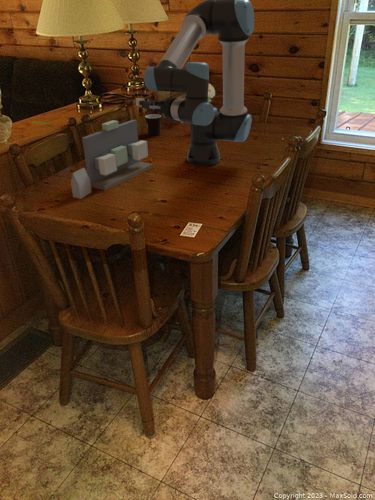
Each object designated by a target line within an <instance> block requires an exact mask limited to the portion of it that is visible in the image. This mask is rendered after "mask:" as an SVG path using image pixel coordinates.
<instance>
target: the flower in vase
mask: <svg viewBox="0 0 375 500" xmlns="http://www.w3.org/2000/svg"><path fill="white" fill-rule="evenodd" d="M215 96H216V90H215V87H214V86H213V85H212V84H211V83H210V82H209V86H208V103H211V102H212V99H214V97H215Z"/></svg>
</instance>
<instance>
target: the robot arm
mask: <svg viewBox="0 0 375 500" xmlns="http://www.w3.org/2000/svg"><path fill="white" fill-rule="evenodd" d="M255 22H256V21H255V12H254V7H253V4H252V2H251V1H250V0H203V1H201V2H199V3H198V4H197V5H194V7H193V8H192V9H190V10H189V12H187V14H186V15H185V16H184V18H183V19H182V21H181V27H180V29H179V30H178V32H177V34H176V35H175V37H174V38H173V40H172V42H171V44H170V45H169V47H168V48H167V49H166V51H165V52H164V54H163V57H162V58H161V59H160V61H159V63H158V64H157V66H155V65H153V66H147V68H146V69H145V70H144V72H143V73H144V75H143V80H144V81H143V82H144V85H145V87H146V88H147V90H150V91H157V92H172V93H173V92H174V93H175V92H176V93H185V94H184V95H185V97H184V98H181V97H180V98H179V97H174V96H172V97H171V96H169V97H168V98H167V99H166V100H165V101H163V100H152V99H151V100H150V99H148V98H146V97H145V98H139V97H138V98H137V97H136V98H135V106H137V107H140V108H142V109H145V110H149V111H150V112H153V111H155V112H159V113H161V114H163V115H164V117H165V118H167V119H169V120H173V121H179V122H180V123H181V124H184V123H188V124H190V125H189V127H190V144H189V147H188V151H187V154H186V155H187V156H186V161H187V163H189V164H191V165H194V166H204V167H205V166H206V167H207V166H212V165H216V164H218V163H219V162H221V154H220V151H219V148H218V144H217V141H218V140H219V141H226V142H233V143H243V142H245V141H246V140H247V138H248V136H249V134H250V131H251V127H252V121H253V118H252V114H250V113H248V108H247V107H246V106H245V105H244V104H245V102H244V101H245V95H244V94H245V55H246V54H245V51H246V50H245V49H246V46H245V45H246V43H247V42H248V41H249V39H250V36H251V35H252V34H253V33H254V30H255ZM206 35H218V36H217V37H218V42H219V43H221V46H222V106H221V107H220V109H219V111H218V108H217V107H214V106H213V104H211V102H209V103H208V98H209V97H208V86H209V83H210V82H209V81H210V73H209V71H210V68H209V67H210V66H209V64H208V63H207V62H203V61H201V62H200V61H188V58H190V55H191V54H192V52H193V50H194V49H195V47H196V45H197V44H198V42H199V41H201V40H202V39H203V38H205V36H206ZM187 61H188V62H187ZM184 65H185V67H184Z"/></svg>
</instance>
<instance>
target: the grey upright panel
mask: <svg viewBox="0 0 375 500" xmlns="http://www.w3.org/2000/svg"><path fill="white" fill-rule="evenodd" d="M101 128H102V130H99V131H96V132H95V133H91V134H88V135H86V136H83V137H81V140H82V147H83V154H84V160H85V166H86V168H85V169H86V173H87V174H88V176H89V178H90V185H91V188H95V189H99V190H101V191H107V190H110V189H112V188H113V187H116V186H118V185H120V184H121V183H124V182H126V181H128V180H131V179H132V178H134V177H136V176H138V175H140V174H142V173H144V172H146V171H149V170H150V169H152V168H153V164H152V163H148V162H143V161H141V160H134V159H133V155H129V154H128V151H127V156H128V162H126V163H124V164H122V165H120V166H117V171H114V172H112V173H110V174H108V175H102V174H100V170H99V169H95V166H94V159H93V158H94V157H97V156H99V155H101V156H105V155H107V154H111V149H114V148H116V147H119V146H126V147H127V144H129V143H131V142H135V143H136V142H139V132H138V122H137V119H131V120H128V121H125V122H122V123H119V120H114V119H113V120H108V121H106V122H104V123H101Z"/></svg>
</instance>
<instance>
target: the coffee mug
mask: <svg viewBox="0 0 375 500" xmlns="http://www.w3.org/2000/svg"><path fill="white" fill-rule="evenodd" d="M144 117H145V123H146V129H147V134H148V135H147V136H148V137H151V136H156V137H159V135H160V136H161V129H162V115H161V114H156V113H154V114H147V115H145V116H144Z"/></svg>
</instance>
